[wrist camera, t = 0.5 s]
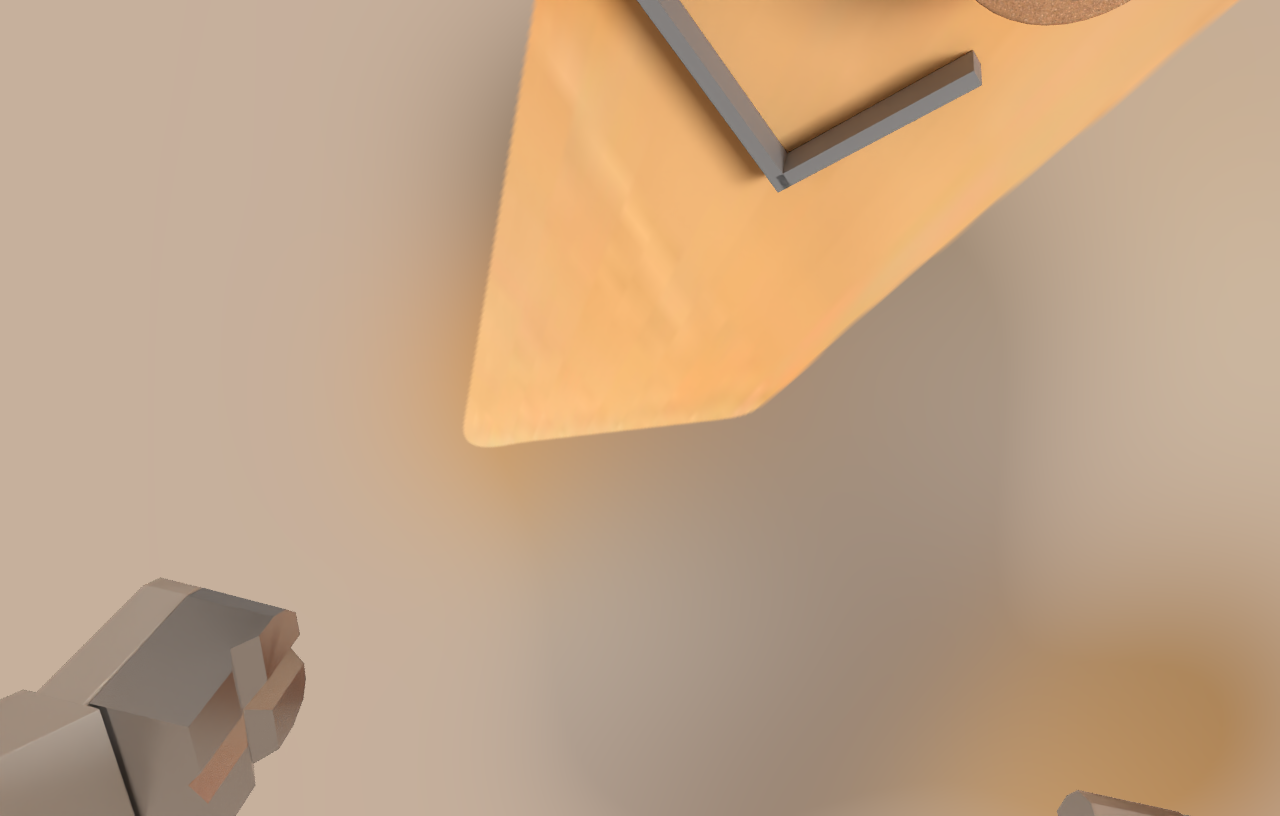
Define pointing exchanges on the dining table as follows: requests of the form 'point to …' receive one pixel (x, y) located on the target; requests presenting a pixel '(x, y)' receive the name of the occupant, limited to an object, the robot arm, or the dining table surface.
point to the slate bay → (828, 146)
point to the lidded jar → (1050, 10)
